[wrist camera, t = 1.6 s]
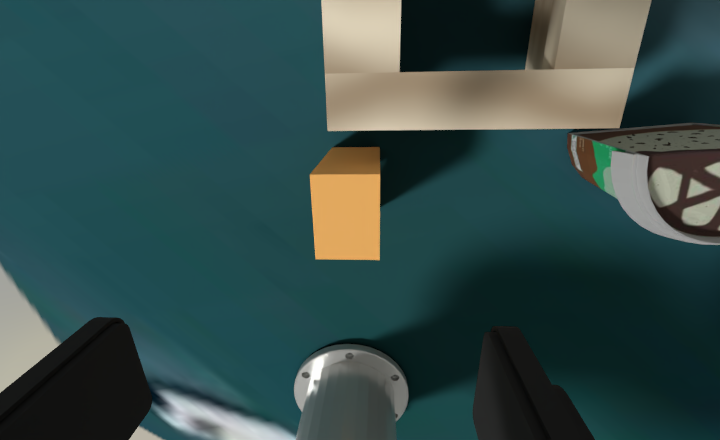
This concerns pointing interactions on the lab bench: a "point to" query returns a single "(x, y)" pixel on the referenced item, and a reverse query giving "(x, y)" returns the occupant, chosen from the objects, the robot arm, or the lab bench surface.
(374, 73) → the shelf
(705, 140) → the food container
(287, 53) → the lab bench surface
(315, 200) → the tall wooden brick
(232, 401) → the lab bench surface
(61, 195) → the lab bench surface
